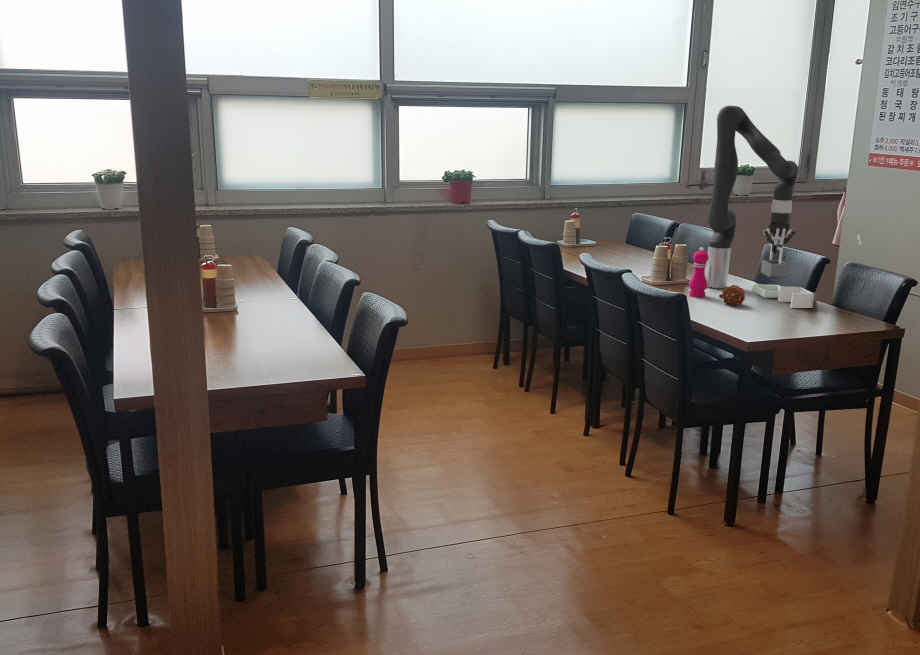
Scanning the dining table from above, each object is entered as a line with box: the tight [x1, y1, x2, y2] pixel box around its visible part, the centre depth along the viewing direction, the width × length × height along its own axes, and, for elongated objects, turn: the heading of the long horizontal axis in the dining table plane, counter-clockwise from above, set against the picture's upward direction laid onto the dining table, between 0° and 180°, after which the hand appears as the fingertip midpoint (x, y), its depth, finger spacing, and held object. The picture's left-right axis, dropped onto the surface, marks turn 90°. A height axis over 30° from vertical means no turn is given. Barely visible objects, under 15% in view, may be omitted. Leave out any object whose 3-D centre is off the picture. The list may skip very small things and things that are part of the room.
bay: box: [777, 286, 816, 309], centre depth 312 cm, size 8×13×6 cm, turn 1°
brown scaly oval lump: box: [718, 284, 746, 307], centre depth 311 cm, size 8×8×12 cm
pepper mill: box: [688, 246, 709, 298], centre depth 324 cm, size 7×7×20 cm
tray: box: [751, 284, 782, 300], centre depth 330 cm, size 11×14×3 cm
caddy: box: [760, 243, 790, 279], centre depth 327 cm, size 7×10×12 cm
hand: (776, 253), depth 326 cm, fingers closed on caddy, 1 cm apart
